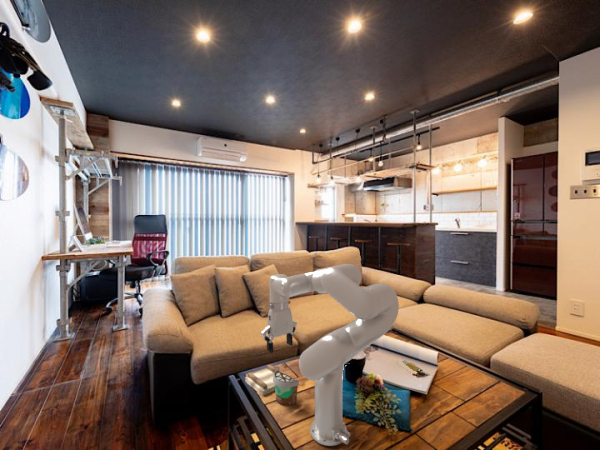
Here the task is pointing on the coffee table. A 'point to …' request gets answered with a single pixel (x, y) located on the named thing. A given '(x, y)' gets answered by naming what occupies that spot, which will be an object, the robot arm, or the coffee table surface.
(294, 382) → the food container
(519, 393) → the coffee table surface
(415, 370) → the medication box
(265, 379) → the base plate
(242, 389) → the coffee table surface
